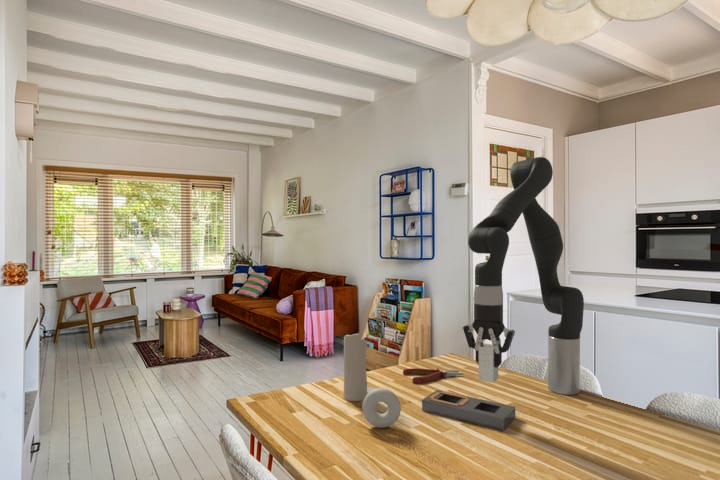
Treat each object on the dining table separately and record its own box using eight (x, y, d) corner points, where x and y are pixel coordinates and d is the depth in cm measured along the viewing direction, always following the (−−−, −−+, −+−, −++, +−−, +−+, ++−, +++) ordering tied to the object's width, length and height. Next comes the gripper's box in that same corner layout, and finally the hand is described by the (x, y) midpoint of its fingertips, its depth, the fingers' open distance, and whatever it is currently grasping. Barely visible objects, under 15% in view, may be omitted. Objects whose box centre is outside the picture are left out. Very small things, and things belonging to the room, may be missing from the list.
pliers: (468, 381, 153) (468, 373, 153) (413, 385, 148) (413, 378, 148) (453, 371, 164) (453, 364, 164) (402, 375, 159) (402, 368, 159)
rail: (437, 399, 134) (437, 389, 134) (515, 417, 121) (515, 406, 121) (422, 410, 126) (422, 399, 126) (504, 430, 113) (504, 418, 113)
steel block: (483, 375, 123) (483, 343, 123) (498, 378, 121) (498, 345, 121) (478, 379, 120) (478, 346, 120) (493, 382, 118) (493, 348, 118)
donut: (400, 425, 116) (401, 386, 116) (401, 430, 113) (401, 391, 113) (362, 423, 117) (362, 385, 117) (361, 429, 114) (361, 390, 114)
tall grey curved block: (382, 389, 143) (382, 327, 143) (358, 403, 131) (359, 335, 131) (363, 385, 147) (363, 324, 147) (338, 398, 135) (339, 332, 135)
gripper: (519, 302, 119) (519, 366, 119) (468, 298, 127) (468, 358, 128) (511, 306, 113) (511, 373, 113) (457, 301, 121) (457, 364, 121)
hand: (488, 365), depth 120 cm, fingers closed on steel block, 4 cm apart
